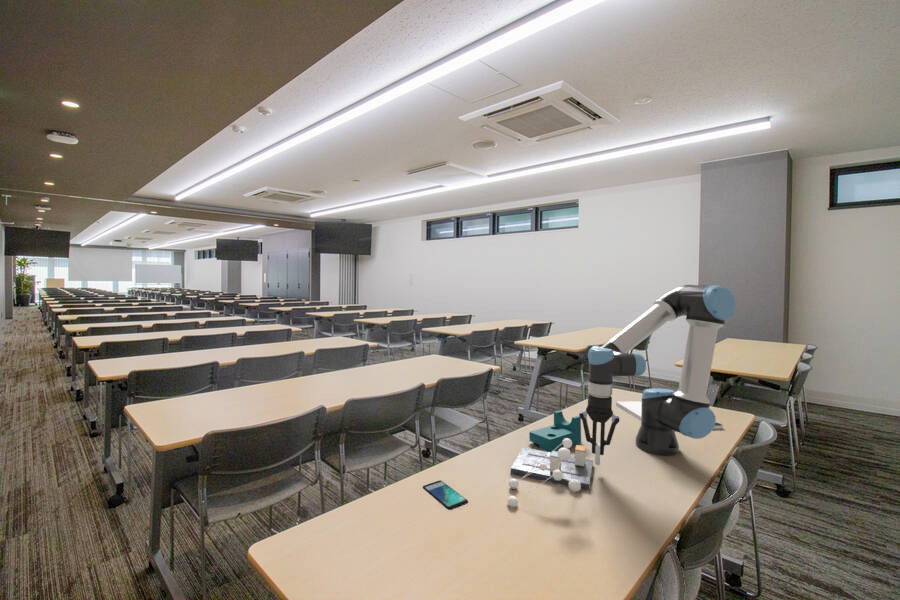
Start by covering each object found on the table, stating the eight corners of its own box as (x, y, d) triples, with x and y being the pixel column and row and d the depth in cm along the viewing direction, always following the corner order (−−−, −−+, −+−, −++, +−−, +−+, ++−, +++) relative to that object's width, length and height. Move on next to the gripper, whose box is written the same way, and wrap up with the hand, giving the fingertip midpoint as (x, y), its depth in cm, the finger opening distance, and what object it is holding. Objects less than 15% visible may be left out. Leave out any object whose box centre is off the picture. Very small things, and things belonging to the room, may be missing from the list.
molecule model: (589, 509, 117) (599, 461, 111) (508, 516, 114) (513, 468, 108) (570, 472, 130) (578, 428, 124) (496, 478, 127) (500, 433, 121)
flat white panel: (722, 424, 176) (658, 426, 173) (722, 430, 177) (657, 432, 173) (670, 400, 211) (615, 401, 208) (670, 405, 211) (615, 406, 208)
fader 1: (560, 468, 132) (561, 452, 132) (559, 473, 129) (559, 457, 128) (551, 466, 134) (552, 450, 133) (549, 471, 130) (550, 455, 130)
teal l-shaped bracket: (560, 435, 168) (559, 410, 168) (581, 442, 159) (580, 416, 159) (529, 444, 158) (529, 418, 158) (550, 452, 149) (549, 425, 149)
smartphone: (440, 479, 128) (469, 501, 115) (440, 481, 128) (469, 503, 115) (421, 485, 123) (449, 508, 111) (421, 488, 124) (449, 511, 111)
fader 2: (585, 461, 137) (585, 446, 137) (584, 466, 134) (584, 450, 133) (576, 459, 139) (576, 444, 138) (574, 464, 135) (575, 449, 135)
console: (592, 465, 139) (593, 460, 139) (589, 490, 123) (589, 484, 123) (522, 452, 149) (522, 447, 149) (510, 473, 133) (510, 467, 133)
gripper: (621, 394, 133) (618, 462, 135) (580, 389, 139) (578, 455, 140) (621, 400, 127) (618, 472, 128) (578, 394, 132) (576, 464, 133)
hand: (597, 463), depth 134 cm, fingers closed
